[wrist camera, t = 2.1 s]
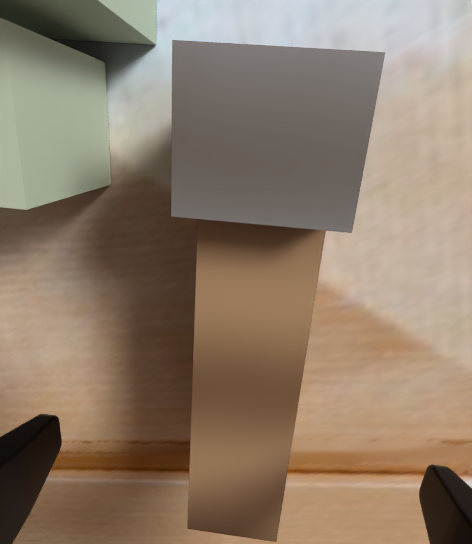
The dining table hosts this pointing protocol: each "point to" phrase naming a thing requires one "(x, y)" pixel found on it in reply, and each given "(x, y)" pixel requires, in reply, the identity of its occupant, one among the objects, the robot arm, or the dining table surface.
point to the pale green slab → (59, 94)
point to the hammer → (259, 249)
